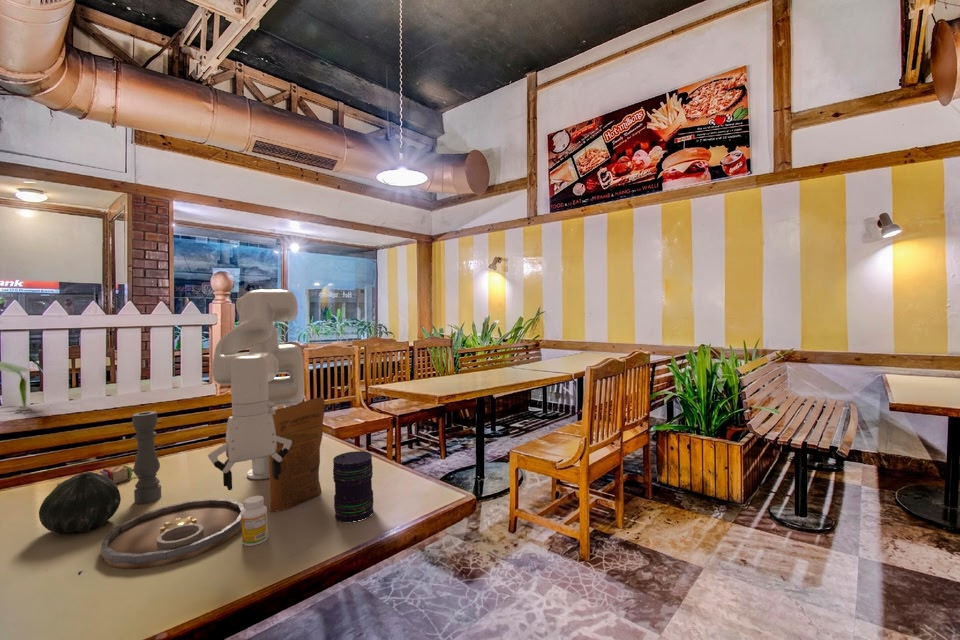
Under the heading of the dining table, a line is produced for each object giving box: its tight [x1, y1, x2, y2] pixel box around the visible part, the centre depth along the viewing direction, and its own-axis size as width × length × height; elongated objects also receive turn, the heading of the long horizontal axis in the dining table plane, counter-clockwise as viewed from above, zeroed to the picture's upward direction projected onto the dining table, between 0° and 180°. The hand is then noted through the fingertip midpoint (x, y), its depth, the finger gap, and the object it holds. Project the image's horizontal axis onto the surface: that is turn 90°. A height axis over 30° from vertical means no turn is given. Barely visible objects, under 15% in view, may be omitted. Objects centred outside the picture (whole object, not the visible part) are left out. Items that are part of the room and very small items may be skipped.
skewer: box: [56, 464, 134, 487], centre depth 139 cm, size 21×6×5 cm, turn 151°
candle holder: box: [131, 410, 162, 505], centre depth 127 cm, size 6×6×25 cm
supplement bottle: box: [241, 495, 269, 547], centre depth 102 cm, size 5×5×10 cm
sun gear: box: [160, 517, 197, 534], centre depth 106 cm, size 7×7×2 cm
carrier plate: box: [102, 506, 242, 570], centre depth 106 cm, size 28×28×4 cm
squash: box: [38, 471, 122, 534], centre depth 111 cm, size 14×15×15 cm
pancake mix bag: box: [268, 396, 326, 512], centre depth 123 cm, size 7×19×28 cm, turn 148°
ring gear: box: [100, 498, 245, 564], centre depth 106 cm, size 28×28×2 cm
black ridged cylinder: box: [332, 450, 375, 523], centre depth 114 cm, size 10×10×15 cm
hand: (253, 483), depth 102 cm, fingers open, 9 cm apart
